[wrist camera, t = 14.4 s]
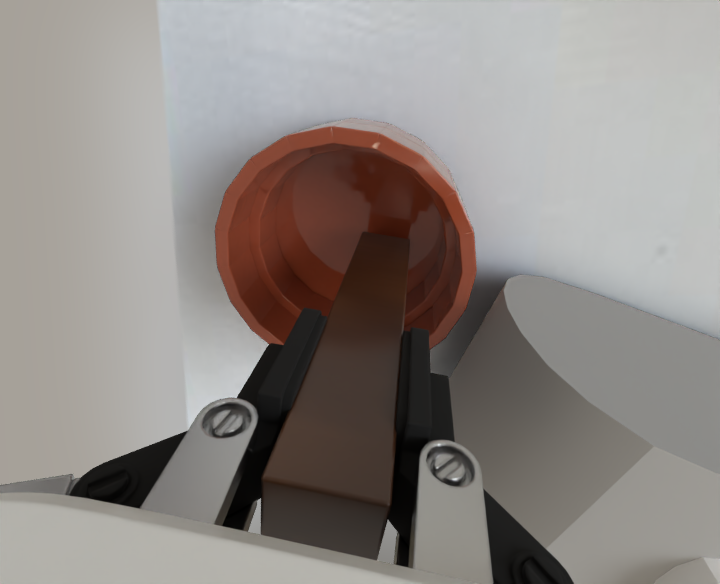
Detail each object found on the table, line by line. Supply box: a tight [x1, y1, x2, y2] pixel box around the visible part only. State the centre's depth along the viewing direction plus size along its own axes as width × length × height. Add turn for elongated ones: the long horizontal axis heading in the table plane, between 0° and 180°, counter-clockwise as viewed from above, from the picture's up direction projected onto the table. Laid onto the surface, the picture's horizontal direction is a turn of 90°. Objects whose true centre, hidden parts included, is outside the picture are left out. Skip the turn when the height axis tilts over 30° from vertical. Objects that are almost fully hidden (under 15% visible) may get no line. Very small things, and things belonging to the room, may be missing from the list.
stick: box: [261, 232, 410, 560], centre depth 14 cm, size 2×2×14 cm
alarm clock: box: [449, 275, 720, 584], centre depth 18 cm, size 21×10×13 cm, turn 71°
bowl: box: [215, 118, 477, 349], centre depth 19 cm, size 11×11×6 cm
